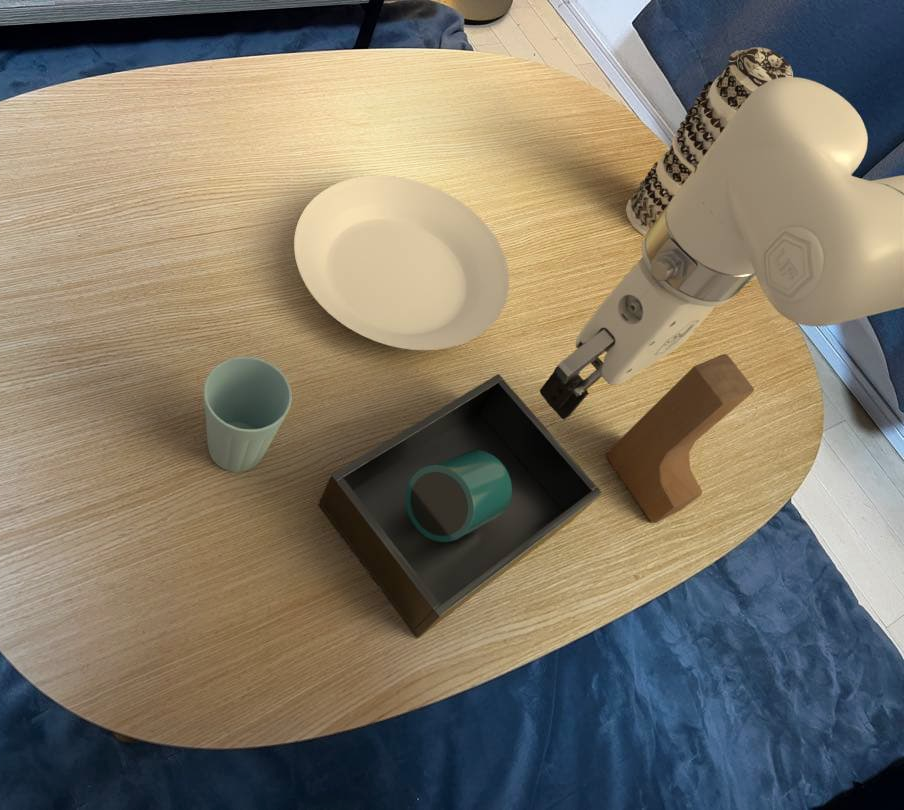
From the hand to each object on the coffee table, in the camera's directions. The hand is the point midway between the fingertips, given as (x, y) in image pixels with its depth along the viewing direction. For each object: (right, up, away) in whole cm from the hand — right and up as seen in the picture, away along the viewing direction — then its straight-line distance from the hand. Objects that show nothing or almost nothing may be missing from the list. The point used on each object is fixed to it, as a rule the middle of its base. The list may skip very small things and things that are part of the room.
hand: (591, 380), depth 73 cm
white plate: (-16, +13, +26) cm, 33 cm away
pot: (-9, -10, +9) cm, 16 cm away
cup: (-32, -6, +10) cm, 34 cm away
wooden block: (+10, -11, +19) cm, 24 cm away
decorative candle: (+19, +23, +41) cm, 51 cm away
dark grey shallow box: (-11, -13, +11) cm, 20 cm away
